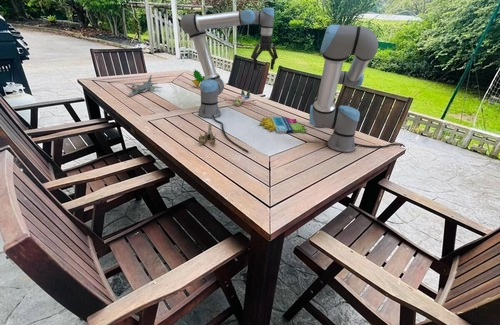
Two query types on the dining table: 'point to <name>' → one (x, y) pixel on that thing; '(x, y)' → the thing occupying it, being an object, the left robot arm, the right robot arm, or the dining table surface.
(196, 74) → the ornament
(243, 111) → the dining table surface
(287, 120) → the sign
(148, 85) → the airplane
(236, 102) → the toy
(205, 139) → the jawbone
